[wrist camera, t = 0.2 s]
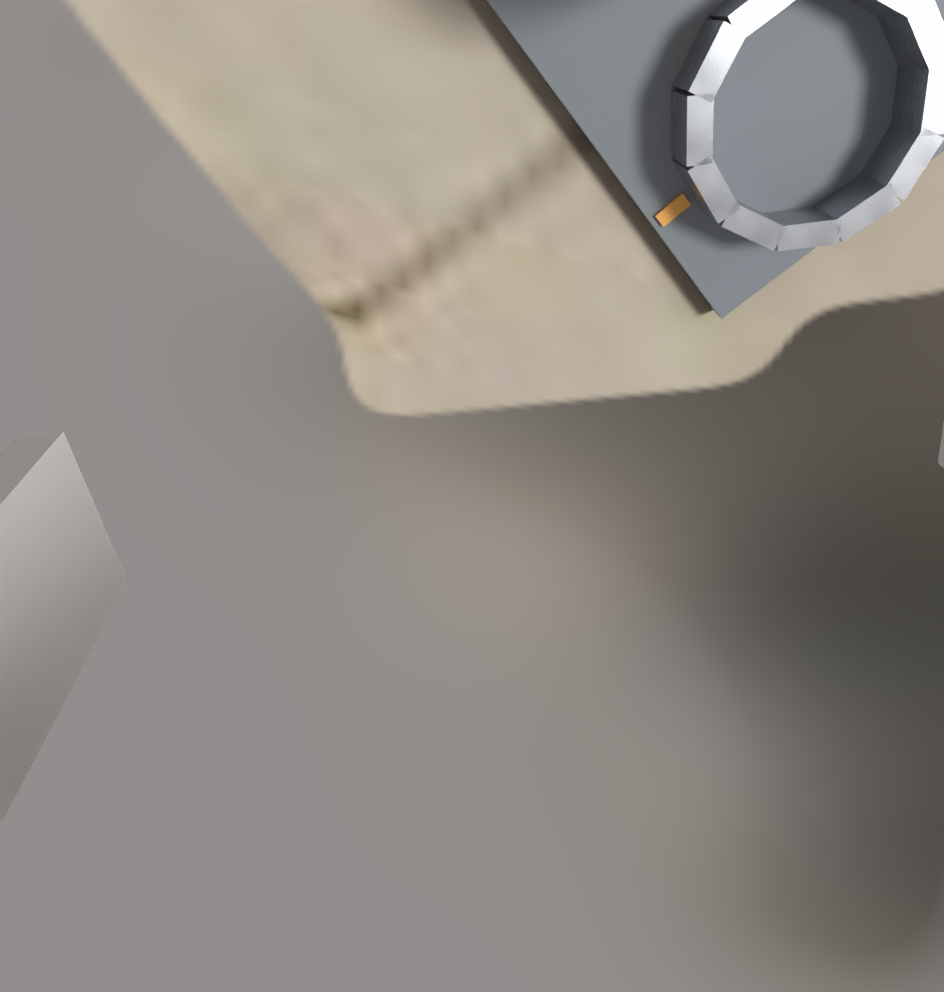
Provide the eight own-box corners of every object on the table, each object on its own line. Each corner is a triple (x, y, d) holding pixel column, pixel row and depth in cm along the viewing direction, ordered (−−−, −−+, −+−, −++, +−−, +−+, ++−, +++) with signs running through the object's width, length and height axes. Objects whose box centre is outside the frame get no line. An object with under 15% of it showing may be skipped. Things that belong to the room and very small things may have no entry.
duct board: (424, -83, 32) (424, -86, 31) (746, -420, 28) (760, -439, 27) (713, 310, 40) (722, 320, 39) (996, 94, 36) (1016, 98, 35)
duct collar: (671, -19, 32) (688, -21, 30) (938, -55, 32) (975, -59, 30) (671, 247, 37) (685, 263, 35) (902, 218, 37) (931, 232, 35)
